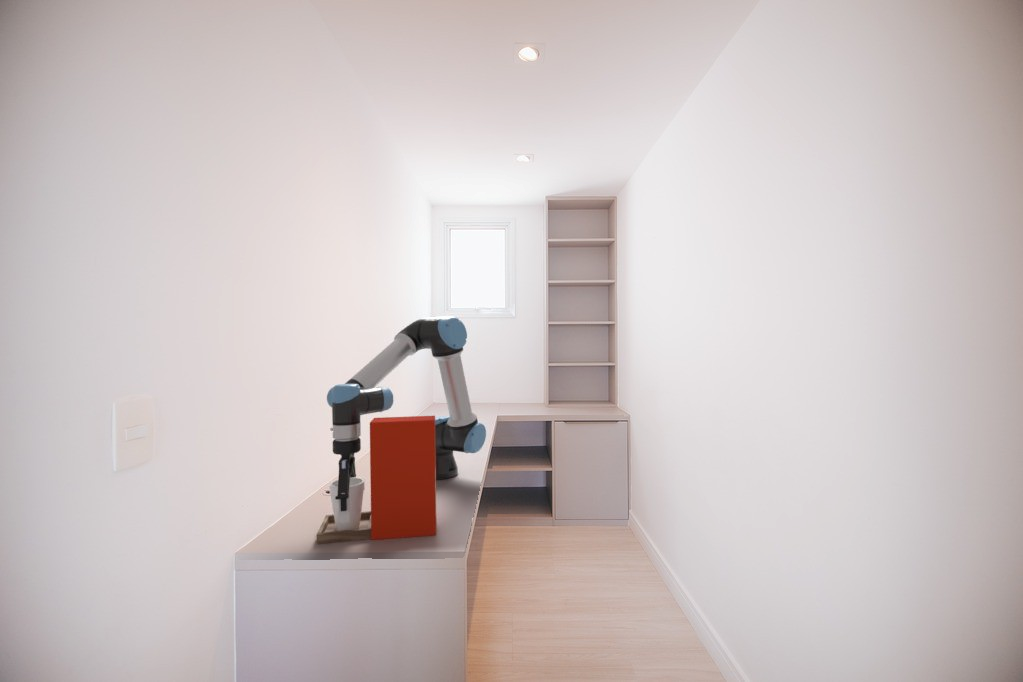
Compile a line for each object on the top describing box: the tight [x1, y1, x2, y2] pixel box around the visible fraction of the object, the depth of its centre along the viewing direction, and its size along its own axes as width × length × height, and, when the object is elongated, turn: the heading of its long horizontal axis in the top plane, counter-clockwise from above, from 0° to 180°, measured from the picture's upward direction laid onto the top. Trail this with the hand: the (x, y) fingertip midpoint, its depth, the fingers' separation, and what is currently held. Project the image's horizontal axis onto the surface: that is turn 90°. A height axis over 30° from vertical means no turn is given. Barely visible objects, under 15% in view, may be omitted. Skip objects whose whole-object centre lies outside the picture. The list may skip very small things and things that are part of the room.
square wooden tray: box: [315, 510, 371, 545], centre depth 128 cm, size 14×14×2 cm
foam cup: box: [329, 476, 366, 531], centre depth 128 cm, size 10×9×13 cm
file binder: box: [369, 415, 438, 541], centre depth 126 cm, size 8×17×32 cm, turn 98°
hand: (347, 512), depth 128 cm, fingers open, 13 cm apart
